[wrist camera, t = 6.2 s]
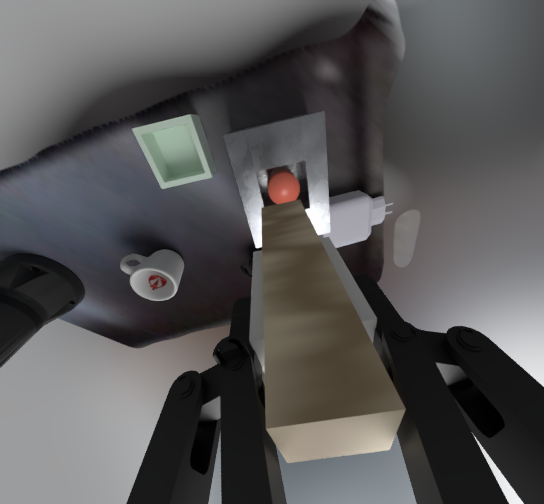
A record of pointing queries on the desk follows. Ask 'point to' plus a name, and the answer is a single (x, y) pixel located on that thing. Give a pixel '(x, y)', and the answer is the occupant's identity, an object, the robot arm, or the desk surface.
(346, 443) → the square wooden post
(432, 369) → the robot arm
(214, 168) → the holder
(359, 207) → the charger
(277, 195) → the button
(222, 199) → the desk surface
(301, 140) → the grey box with opening
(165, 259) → the cup
